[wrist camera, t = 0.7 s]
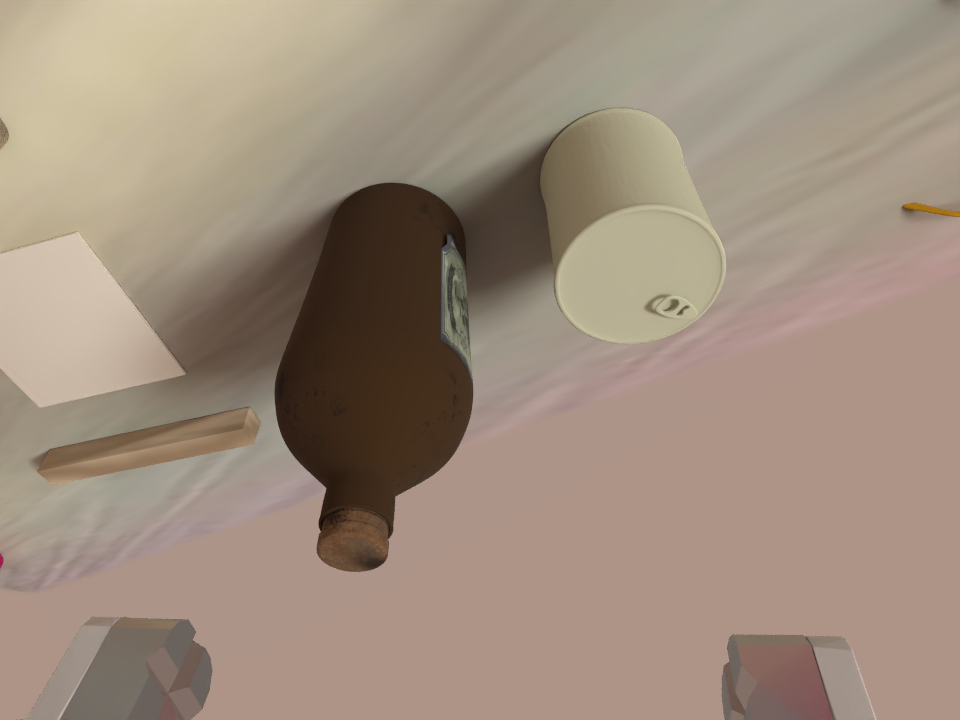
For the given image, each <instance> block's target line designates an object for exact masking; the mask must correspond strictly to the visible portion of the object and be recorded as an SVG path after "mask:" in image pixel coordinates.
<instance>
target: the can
mask: <svg viewBox="0 0 960 720" xmlns="http://www.w3.org/2000/svg"><path fill="white" fill-rule="evenodd" d="M540 187H541V193H542V197H543V200H544V203H545V206H546V212H547V220H548V227H549V235H550V243H551V251H552V261H553V270H554V293H555V297H556V301H557V304H558V306H559V308H560V310H561V312H562V313H563V315H564V316H565V318H566V319H567V320H568V321H569V322H570V323H571V324H572V325H573V326H574V327H575V328H577V329H578V330H580V331H581V332H583V333H584V334H586V335H588V336H590V337H593V338H595V339H598V340H601V341H605V342H610V343H617V344H638V343H646V342H652V341H655V340H659V339H662V338H665V337H668V336H670V335H673V334H675V333H677V332H679V331H681V330H682V329H684V328H686V327H687V326H689V325H690V324H692V323H693V322H695V321H696V320H697V319H698V318H699V317H701V316H702V315H703V314H704V313H705V312H706V310H707V309H708V308H709V307H710V306H711V304H712V303H713V302H714V300H715V299H716V297H717V295H718V293H719V292H720V290H721V287H722V284H723V281H724V277H725V272H726V257H725V252H724V248H723V245H722V243H721V240H720V238H719V237H718V235H717V234H716V232H715V231H714V229H713V227H712V225H711V223H710V221H709V218H708V216H707V214H706V212H705V210H704V208H703V205H702V203H701V201H700V199H699V196H698V194H697V192H696V189H695V187H694V185H693V182H692V180H691V178H690V175H689V173H688V171H687V168H686V166H685V164H684V161H683V154H682V150H681V147H680V144H679V142H678V140H677V138H676V137H675V135H674V134H673V132H672V131H671V130H670V129H669V127H668V126H667V125H666V124H664V123H663V122H662V121H661V120H659V119H658V118H656V117H654V116H652V115H650V114H648V113H646V112H643V111H639V110H635V109H629V108H611V109H605V110H600V111H597V112H594V113H591V114H588V115H586V116H584V117H582V118H580V119H578V120H576V121H575V122H573V123H572V124H571V125H569V126H568V127H567V128H566V129H564V130H563V131H562V132H561V133H560V135H559V136H558V137H557V138H556V139H555V140H554V142H553V143H552V145H551V146H550V148H549V150H548V151H547V153H546V156H545V158H544V161H543V164H542V168H541V174H540Z"/></svg>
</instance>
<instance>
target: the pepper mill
mask: <svg viewBox="0 0 960 720" xmlns="http://www.w3.org/2000/svg"><path fill="white" fill-rule="evenodd" d="M2 564H3V558H2V556H1V554H0V568H1V566H2Z"/></svg>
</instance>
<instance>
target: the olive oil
mask: <svg viewBox="0 0 960 720" xmlns="http://www.w3.org/2000/svg"><path fill="white" fill-rule="evenodd" d="M472 403H473V380H472V366H471V352H470V337H469V319H468V301H467V278H466V249H465V237H464V232H463V229H462V226H461V224H460V222H459V220H458V218H457V216H456V215H455V213H454V212H453V211H452V209H451V208H450V207H449V206H448V205H447V204H446V203H445V202H444V201H443V200H441V199H440V198H439V197H437V196H436V195H434V194H432V193H431V192H429V191H427V190H424V189H422V188H419V187H416V186H412V185H408V184H401V183H384V184H378V185H373V186H370V187H367V188H364V189H362V190H360V191H358V192H356V193H355V194H353V195H352V196H350V197H349V198H348V199H347V200H346V201H345V202H344V203H343V204H342V205H341V206H340V208H339V209H338V211H337V212H336V214H335V216H334V218H333V221H332V223H331V226H330V229H329V232H328V235H327V238H326V241H325V244H324V247H323V250H322V253H321V256H320V259H319V262H318V265H317V267H316V270H315V273H314V276H313V278H312V281H311V284H310V286H309V289H308V292H307V295H306V297H305V300H304V303H303V305H302V308H301V311H300V313H299V316H298V319H297V321H296V324H295V326H294V329H293V331H292V334H291V337H290V339H289V342H288V344H287V347H286V349H285V352H284V355H283V357H282V360H281V363H280V366H279V369H278V372H277V377H276V382H275V407H276V415H277V421H278V425H279V429H280V432H281V435H282V437H283V439H284V441H285V443H286V445H287V447H288V448H289V450H290V451H291V453H292V454H293V456H294V457H295V458H296V459H297V460H298V461H299V463H300V464H301V465H302V466H303V467H304V468H305V469H306V470H308V471H309V472H310V473H311V474H312V475H313V476H314V477H315V478H316V479H317V480H318V481H319V482H321V483H322V484H323V485H324V486H325V487H326V488H327V489H326V493H325V497H324V501H323V505H322V510H321V515H320V519H319V528H320V531H321V533H320V534H319V538H318V543H317V554H318V556H319V558H320V559H321V560H322V561H324V562H325V563H326V564H328V565H329V566H331V567H334V568H336V569H340V570H344V571H351V572H361V571H368V570H372V569H375V568H377V567H379V566H380V565H382V564H383V563H384V562H385V560H386V559H387V556H388V548H389V541H388V539H389V538H390V536H391V535H392V533H393V521H394V511H395V496H397V495H399V494H401V493H402V492H404V491H406V490H408V489H410V488H412V487H414V486H416V485H417V484H419V483H421V482H423V481H424V480H426V479H428V478H429V477H431V476H432V475H434V474H435V473H436V472H437V471H439V470H440V469H441V468H442V467H443V466H444V465H445V464H446V463H447V462H448V461H449V460H450V458H451V457H452V456H453V454H454V453H455V451H456V450H457V448H458V446H459V444H460V442H461V440H462V438H463V436H464V433H465V431H466V428H467V426H468V423H469V419H470V415H471V411H472Z"/></svg>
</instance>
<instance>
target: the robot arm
mask: <svg viewBox="0 0 960 720" xmlns="http://www.w3.org/2000/svg"><path fill="white" fill-rule="evenodd" d="M195 633H196V631H195V629H194V628H193V626H192V625H191V623H190V621H189V620H184V619H148V618H127V617H91V618H90V619H89V620H88V621H87V622H86V623H85V624H84V625H82V626H81V628H80V629H79V631H78V633H77V634H76V636H75V638H74V640H73V641H72V643H71V644H70V646H69V648H68V649H67V651H66V653H65V655H64V656H63V658H62V659H61V661H60V663H59V665H58V666H57V668H56V670H55V671H54V673H53V675H52V677H51V678H50V680H49V681H48V683H47V685H46V687H45V688H44V690H43V691H42V693H41V695H40V696H39V698H38V700H37V702H36V703H35V705H34V707H33V708H32V710H31V712H30V713H29V715H28V717H27V718H26V719H17V720H191V719H192V718H193V717H194V716H195V715H196V714H197V713H199V712H200V711H201V710H202V709H203V706H204V703H205V701H206V698H207V695H208V693H209V690H210V682H211V676H212V665H211V659H210V656H209V654H208V652H207V650H206V648H204V647H203V646H201V645H199V644H198V643H196V642H195V641H193V638H194V636H195ZM727 650H728V655H729V661H730V662H728V663H727V664H726V665H724V667H723V675H722V702H723V711H724V718H725V720H877V719H876V716H875V714H874V710H873V708H872V705H871V702H870V699H869V696H868V694H867V690H866V688H865V685H864V682H863V679H862V676H861V673H860V670H859V668H858V665H857V662H856V659H855V656H854V653H853V650H852V648H851V646H850V645H849V643H848V642H847V641H846V640H845V639H844V638H842V637H828V636H827V637H826V636H825V637H824V636H803V635H731V637H730V638H729V641H728V646H727Z"/></svg>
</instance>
